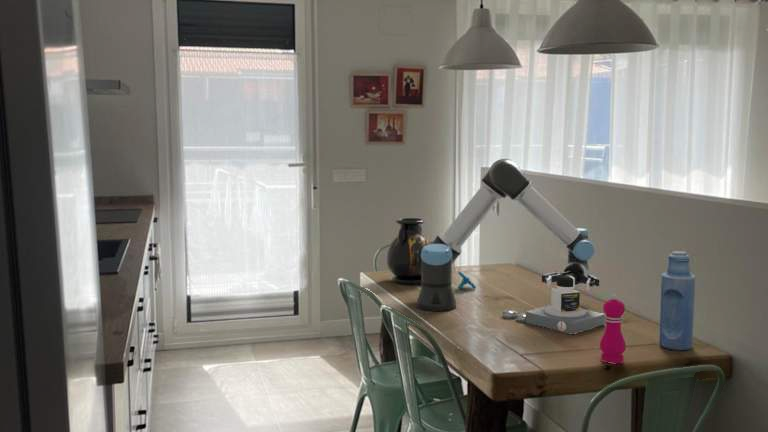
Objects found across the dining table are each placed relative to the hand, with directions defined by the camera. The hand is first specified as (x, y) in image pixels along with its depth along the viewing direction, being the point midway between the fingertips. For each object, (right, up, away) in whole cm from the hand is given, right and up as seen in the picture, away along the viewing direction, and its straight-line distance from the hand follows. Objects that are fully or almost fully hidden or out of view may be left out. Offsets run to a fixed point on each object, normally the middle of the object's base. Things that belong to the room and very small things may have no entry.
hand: (567, 284), depth 248 cm
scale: (-1, -14, -1) cm, 14 cm away
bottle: (+27, -17, -27) cm, 42 cm away
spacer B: (-15, -13, +4) cm, 20 cm away
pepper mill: (+3, -19, -40) cm, 45 cm away
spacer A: (-19, -13, +9) cm, 24 cm away
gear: (-29, -7, +54) cm, 62 cm away
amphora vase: (-53, -5, +69) cm, 87 cm away
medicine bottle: (-1, -9, -2) cm, 9 cm away
